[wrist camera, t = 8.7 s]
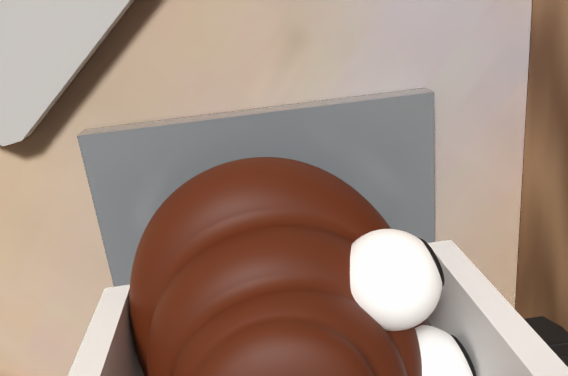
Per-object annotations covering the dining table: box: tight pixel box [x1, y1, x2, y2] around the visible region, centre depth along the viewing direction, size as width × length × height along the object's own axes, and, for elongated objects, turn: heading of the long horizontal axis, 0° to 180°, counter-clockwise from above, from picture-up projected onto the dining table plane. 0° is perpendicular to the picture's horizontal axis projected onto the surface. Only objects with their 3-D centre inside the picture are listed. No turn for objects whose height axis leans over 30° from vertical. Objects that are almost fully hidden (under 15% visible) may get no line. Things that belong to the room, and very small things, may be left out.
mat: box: [77, 88, 435, 326], centre depth 18 cm, size 11×11×1 cm
